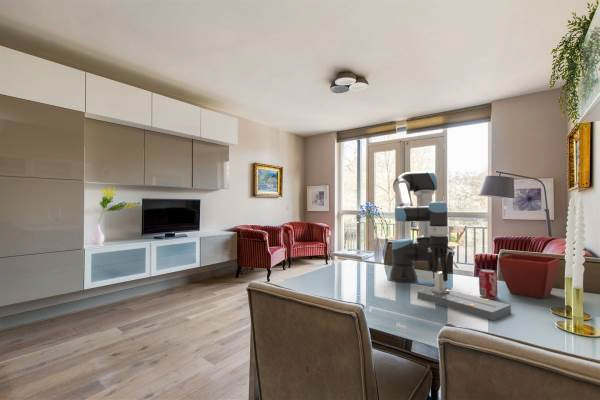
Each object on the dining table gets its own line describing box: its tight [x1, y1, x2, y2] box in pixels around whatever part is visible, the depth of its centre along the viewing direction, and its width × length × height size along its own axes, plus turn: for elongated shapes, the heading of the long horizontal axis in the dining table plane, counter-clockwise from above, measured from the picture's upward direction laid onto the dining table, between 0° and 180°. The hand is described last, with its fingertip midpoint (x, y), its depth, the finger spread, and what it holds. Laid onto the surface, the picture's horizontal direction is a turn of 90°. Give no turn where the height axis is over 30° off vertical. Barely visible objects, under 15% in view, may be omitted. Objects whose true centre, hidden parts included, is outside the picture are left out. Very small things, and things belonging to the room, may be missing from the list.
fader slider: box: [432, 270, 451, 295], centre depth 131 cm, size 6×5×9 cm
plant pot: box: [497, 253, 560, 299], centre depth 137 cm, size 19×19×17 cm
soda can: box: [478, 268, 498, 299], centre depth 133 cm, size 7×7×12 cm
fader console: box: [417, 286, 512, 321], centre depth 123 cm, size 14×32×3 cm, turn 31°
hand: (440, 286), depth 131 cm, fingers closed on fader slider, 2 cm apart
